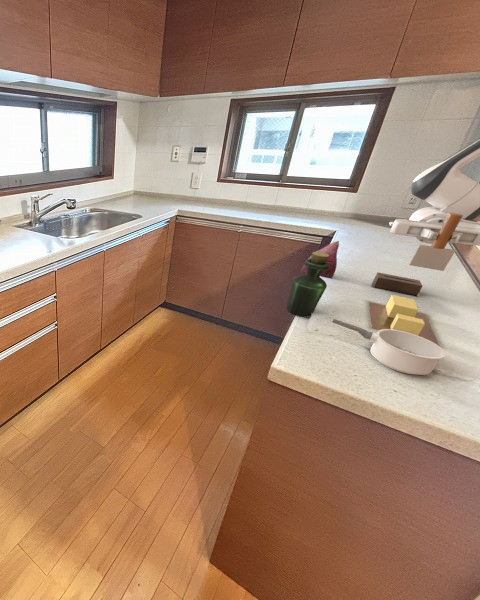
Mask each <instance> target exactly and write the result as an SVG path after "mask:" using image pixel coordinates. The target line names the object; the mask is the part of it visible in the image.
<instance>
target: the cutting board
mask: <svg viewBox="0 0 480 600" xmlns="http://www.w3.org/2000/svg"><path fill="white" fill-rule="evenodd" d="M368 309H369V316H370V325H371V329H373V330H377V331H379V330H382V329H391V327H390V326H391V324H392V322H393V320H394V318H391V317H388V315H387V310H386V305H384V304H382V303H381V304H380V303H376V302H372V301H368ZM414 318H419V319H423V321H424V323H425V325H424V327H423V328H422V330H421V332H420V333H419V335H418V336H420V337H423V338H425V339H427V340H429V341H431V342H433V343H435V344H437V345H438V346H439V347H440V344H439V342H438V340H437V337H436V335H435V333H434V331H433V329H432V326H431V323H430V322H429V318H428V317H427V315H426V314H425V313H419V312H417V314H416V315H415V317H414Z"/></svg>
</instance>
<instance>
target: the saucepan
mask: <svg viewBox="0 0 480 600" xmlns="http://www.w3.org/2000/svg"><path fill="white" fill-rule="evenodd" d="M331 323H333V324H335V325H338V326H342V327H343V328H347V329H350V330H352V331H355V332H357V333H358V334H360V335H361V336H362V337H363V338H364V339H366V340H368V341H372V342H373V343H372V345H371V346H370V349H369V352H370V354H371V355H372V356H373V357H374V358H375V359H376V360H377V361H378V363H381V364H382V365H383V366H385V367H387V368H389V369H391V370H394V371H396V372H398V373H402V374H403V373H404V374H407V375H417V376H419V375H420V376H423V375H425V376H426V375H430V374H431V373H432V372H433V370H434V368H436V366H437V364H438V363H439V361H440V359H443V358H444V357H446V351H445V350H444V349H443V348H442V347H441V346H440V345H439V346H438V345H437V344H435V343H433V342H431V341H429V340H427V339H425V338H423V337H420V336H417V335H415V334H411V333H408V332H404V331H399V330H393V329H382V330H377V331H376V332H373V331H368V330H365V329H364V328H362V327H359V326H357V325H354V324H351V323H347V322H344V321H342V320H339V319H336V318H333V319H332V321H331Z"/></svg>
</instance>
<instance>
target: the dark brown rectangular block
mask: <svg viewBox="0 0 480 600" xmlns="http://www.w3.org/2000/svg"><path fill="white" fill-rule="evenodd" d="M371 288H373V289H378V290H382V291H387V292H392V293H397V294H402V295H407V296H411V297H418V295H419V294H420V292H421V291H422V288H423V284H422V282H421V280H420V279H414V278H409V277H406V276H405V277H403V276H399V275H394V274H388V273H383V272H376V274H375V276H374V278H373V281H372V283H371Z"/></svg>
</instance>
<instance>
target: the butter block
mask: <svg viewBox="0 0 480 600" xmlns="http://www.w3.org/2000/svg"><path fill="white" fill-rule="evenodd" d="M385 306H386V310H387V315H388V317H391V318H395V317H396V315H397V314H402V315H406V316H410V317H415V315H416V314H417V313H419V307H418V304H417V303H416V301H415V299H414V298H408V297H404V296H400V295H395V294H391V295H390V297H389V299H388V301H387V303H386V305H385Z"/></svg>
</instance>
